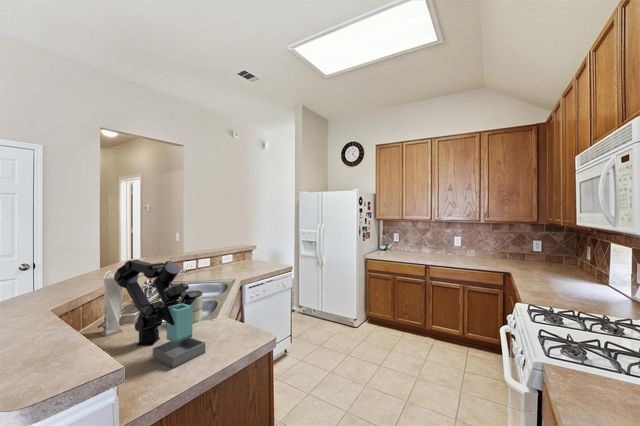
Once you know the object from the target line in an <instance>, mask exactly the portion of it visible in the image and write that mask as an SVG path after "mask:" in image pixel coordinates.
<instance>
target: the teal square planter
mask: <svg viewBox="0 0 640 426" xmlns="http://www.w3.org/2000/svg"><path fill="white" fill-rule="evenodd" d="M168 311H169V313H170V315H171V317H172V319H173V321H174V325H173V326H172V325H171V324H169V323H168V322H166V340H168V341H172V342H175V343H179V342H181V341H183V340H186V339H188V338H190V337H192V338H193V324H192V306H190V305H187V304H183V303H182V304H181V303H180V304H177V305H174V306H170V307H168Z"/></svg>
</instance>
